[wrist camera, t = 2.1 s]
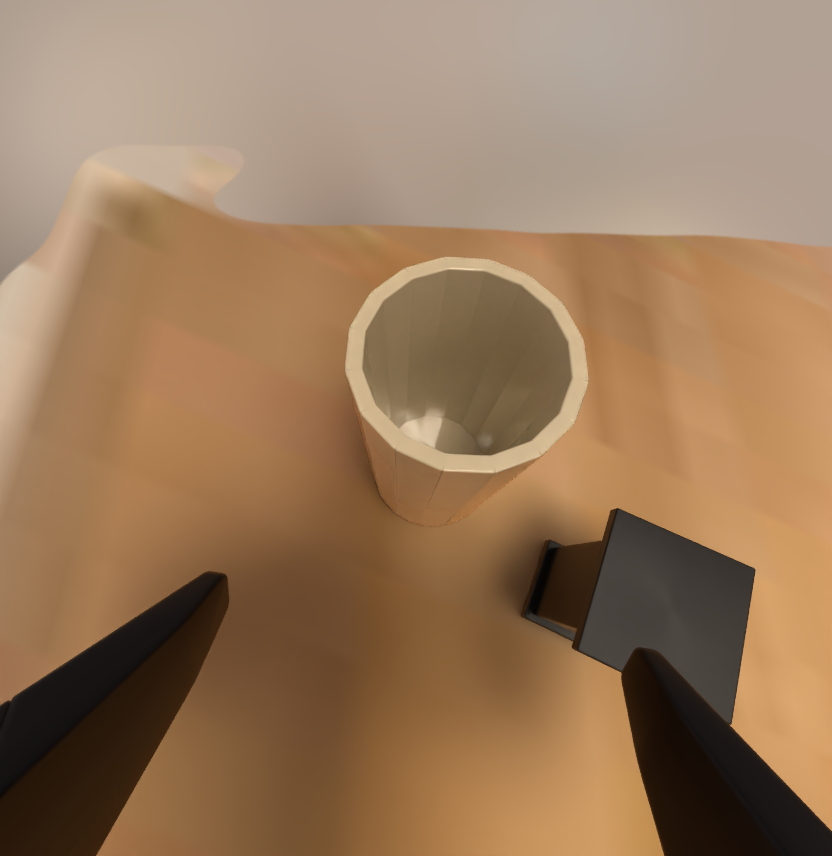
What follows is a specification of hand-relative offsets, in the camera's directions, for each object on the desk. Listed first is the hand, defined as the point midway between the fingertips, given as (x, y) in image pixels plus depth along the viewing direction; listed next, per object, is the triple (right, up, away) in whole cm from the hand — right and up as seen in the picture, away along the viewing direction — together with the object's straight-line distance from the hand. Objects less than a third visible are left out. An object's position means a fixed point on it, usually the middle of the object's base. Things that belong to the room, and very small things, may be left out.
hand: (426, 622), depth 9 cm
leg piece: (+8, -4, +12) cm, 15 cm away
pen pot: (+1, +2, +13) cm, 14 cm away
